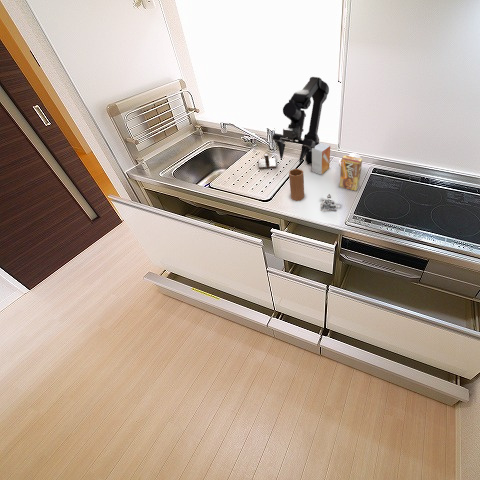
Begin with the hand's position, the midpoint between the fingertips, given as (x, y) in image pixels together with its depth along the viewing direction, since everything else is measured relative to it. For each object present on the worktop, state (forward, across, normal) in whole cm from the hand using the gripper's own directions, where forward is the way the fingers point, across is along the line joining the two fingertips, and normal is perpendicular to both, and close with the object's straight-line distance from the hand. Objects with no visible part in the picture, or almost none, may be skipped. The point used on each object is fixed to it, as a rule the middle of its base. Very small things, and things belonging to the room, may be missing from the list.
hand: (290, 160), depth 117 cm
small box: (0, +7, +26) cm, 27 cm away
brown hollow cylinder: (+15, +5, +4) cm, 17 cm away
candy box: (+6, +26, +17) cm, 32 cm away
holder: (+3, -22, +21) cm, 31 cm away
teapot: (+16, +22, +3) cm, 27 cm away
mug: (-3, +22, +30) cm, 37 cm away
